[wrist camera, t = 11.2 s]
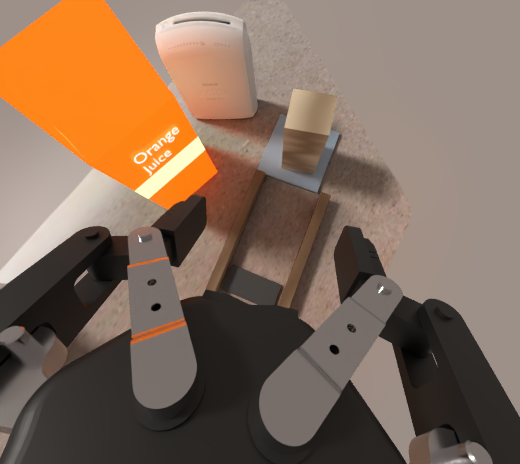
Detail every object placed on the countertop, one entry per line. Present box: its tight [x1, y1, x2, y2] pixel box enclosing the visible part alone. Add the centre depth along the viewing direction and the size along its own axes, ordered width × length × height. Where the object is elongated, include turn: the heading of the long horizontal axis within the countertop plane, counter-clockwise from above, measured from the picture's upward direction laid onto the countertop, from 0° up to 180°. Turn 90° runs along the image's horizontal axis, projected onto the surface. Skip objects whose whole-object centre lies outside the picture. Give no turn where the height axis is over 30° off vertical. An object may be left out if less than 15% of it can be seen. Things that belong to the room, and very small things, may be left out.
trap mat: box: [222, 265, 282, 305], centre depth 29 cm, size 7×3×1 cm, turn 68°
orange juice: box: [0, 0, 217, 210], centre depth 22 cm, size 8×9×20 cm
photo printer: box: [155, 12, 258, 119], centre depth 27 cm, size 10×4×12 cm, turn 88°
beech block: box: [281, 89, 337, 174], centre depth 27 cm, size 4×4×9 cm
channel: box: [206, 169, 331, 308], centre depth 29 cm, size 10×17×2 cm, turn 158°
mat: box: [257, 114, 340, 193], centre depth 31 cm, size 9×10×1 cm
